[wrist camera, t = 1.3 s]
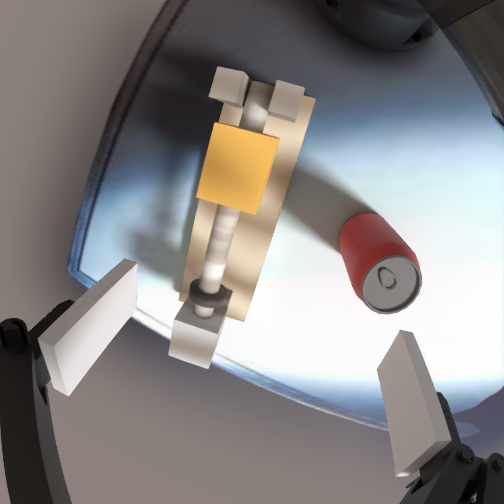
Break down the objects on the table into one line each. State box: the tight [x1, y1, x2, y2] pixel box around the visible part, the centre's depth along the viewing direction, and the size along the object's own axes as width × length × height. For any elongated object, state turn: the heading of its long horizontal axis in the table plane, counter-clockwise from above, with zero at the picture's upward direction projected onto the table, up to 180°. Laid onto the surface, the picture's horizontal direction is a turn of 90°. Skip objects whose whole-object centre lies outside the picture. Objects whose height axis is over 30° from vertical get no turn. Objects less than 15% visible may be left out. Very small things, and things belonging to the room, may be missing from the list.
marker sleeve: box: [196, 122, 280, 215], centre depth 25 cm, size 6×5×5 cm
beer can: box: [339, 213, 422, 314], centre depth 29 cm, size 7×7×12 cm
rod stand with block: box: [169, 67, 316, 369], centre depth 30 cm, size 28×9×12 cm, turn 164°
